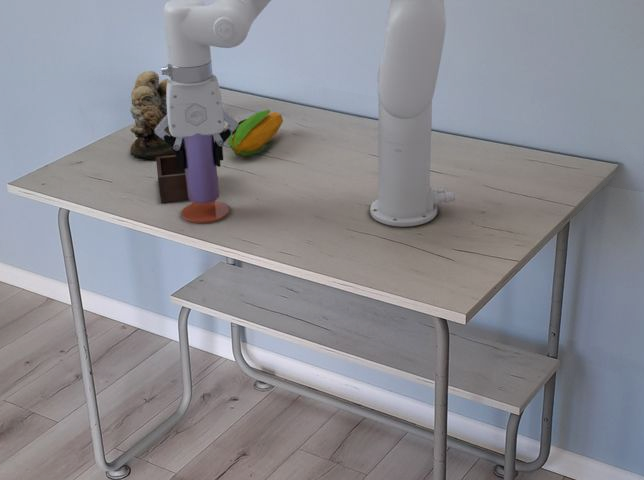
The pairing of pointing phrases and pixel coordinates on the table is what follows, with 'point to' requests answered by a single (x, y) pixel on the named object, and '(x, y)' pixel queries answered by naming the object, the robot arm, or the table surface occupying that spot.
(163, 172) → the caddy
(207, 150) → the beverage can
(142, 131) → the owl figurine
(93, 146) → the table surface
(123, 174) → the table surface
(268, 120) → the corn
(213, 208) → the coaster
